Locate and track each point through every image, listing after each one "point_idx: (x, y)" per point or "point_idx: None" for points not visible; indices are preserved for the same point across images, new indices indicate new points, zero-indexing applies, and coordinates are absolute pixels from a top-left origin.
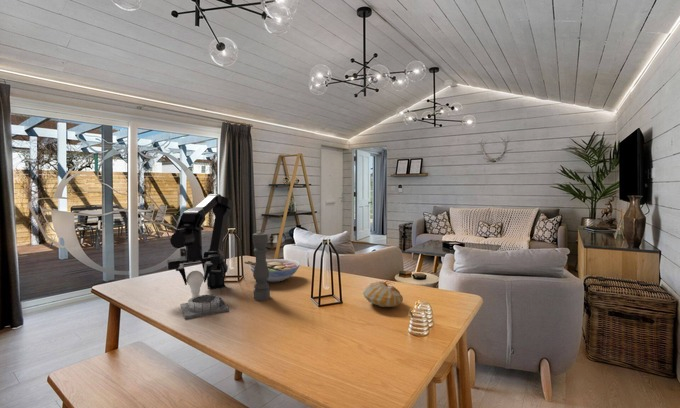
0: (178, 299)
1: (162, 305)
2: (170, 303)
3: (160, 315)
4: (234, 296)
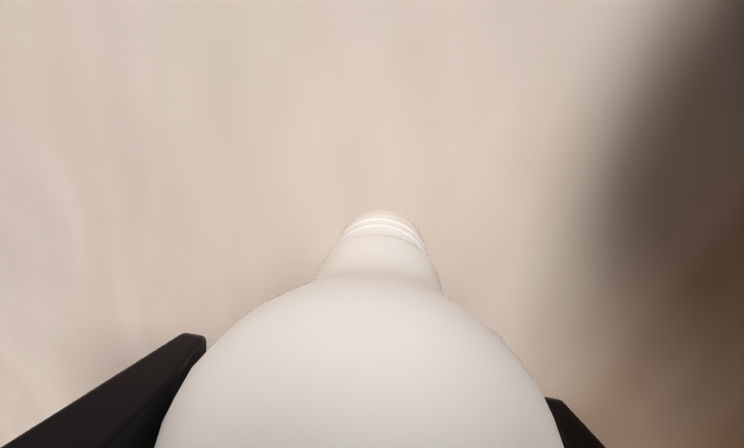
0: (193, 95)
1: (10, 193)
2: (94, 186)
3: (27, 422)
4: (725, 425)
